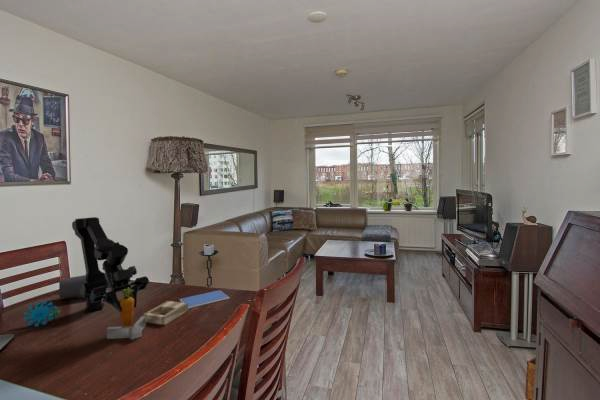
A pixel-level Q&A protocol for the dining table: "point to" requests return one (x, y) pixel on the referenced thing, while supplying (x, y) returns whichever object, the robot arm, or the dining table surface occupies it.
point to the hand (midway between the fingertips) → (128, 309)
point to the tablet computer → (204, 299)
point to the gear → (41, 313)
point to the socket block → (166, 312)
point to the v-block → (127, 330)
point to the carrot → (127, 308)
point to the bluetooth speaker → (72, 286)
